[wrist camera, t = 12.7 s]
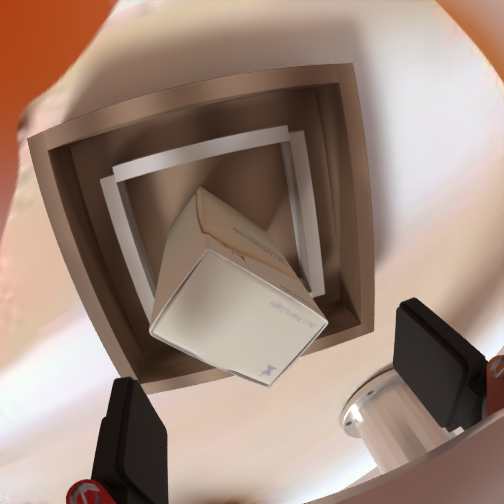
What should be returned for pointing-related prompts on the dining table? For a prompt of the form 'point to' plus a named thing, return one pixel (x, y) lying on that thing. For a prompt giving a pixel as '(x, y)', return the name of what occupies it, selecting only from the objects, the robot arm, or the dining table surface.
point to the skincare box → (231, 294)
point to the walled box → (222, 186)
